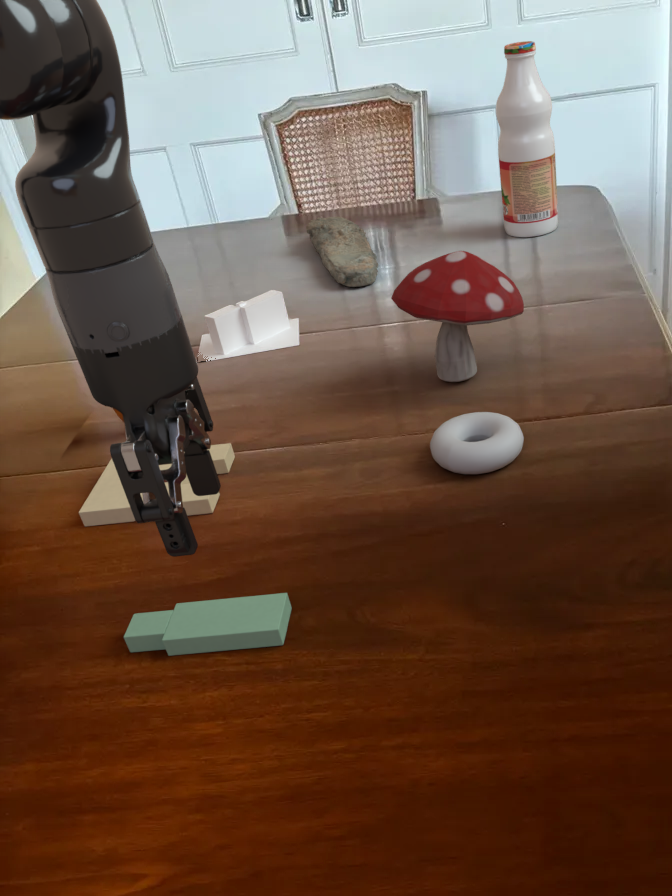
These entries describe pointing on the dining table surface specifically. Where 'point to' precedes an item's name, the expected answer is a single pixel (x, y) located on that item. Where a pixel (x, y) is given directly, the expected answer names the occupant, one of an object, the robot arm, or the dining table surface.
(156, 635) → the green tabbed block
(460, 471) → the donut
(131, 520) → the sand pad
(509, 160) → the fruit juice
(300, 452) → the dining table surface
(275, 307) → the napkin holder
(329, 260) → the elongated rock
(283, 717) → the dining table surface
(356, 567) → the dining table surface
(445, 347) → the decorative mushroom
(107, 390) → the robot arm
